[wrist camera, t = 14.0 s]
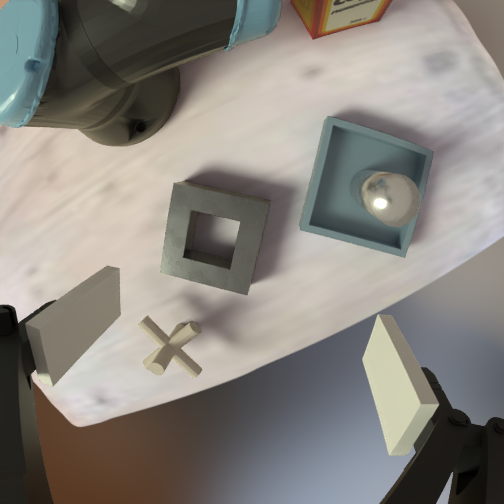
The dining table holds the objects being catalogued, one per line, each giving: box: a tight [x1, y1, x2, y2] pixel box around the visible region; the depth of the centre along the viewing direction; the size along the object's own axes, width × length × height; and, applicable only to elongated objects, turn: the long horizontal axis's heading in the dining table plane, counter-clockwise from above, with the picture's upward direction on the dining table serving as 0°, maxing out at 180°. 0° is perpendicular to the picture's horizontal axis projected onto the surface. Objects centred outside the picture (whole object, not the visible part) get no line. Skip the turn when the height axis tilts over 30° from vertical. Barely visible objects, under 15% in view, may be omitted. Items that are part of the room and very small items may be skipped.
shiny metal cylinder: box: [349, 170, 421, 227], centre depth 30 cm, size 4×4×12 cm
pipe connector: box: [138, 315, 202, 378], centre depth 40 cm, size 10×10×10 cm
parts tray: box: [299, 116, 434, 258], centre depth 35 cm, size 13×13×3 cm
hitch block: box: [160, 181, 270, 295], centre depth 39 cm, size 11×11×4 cm
